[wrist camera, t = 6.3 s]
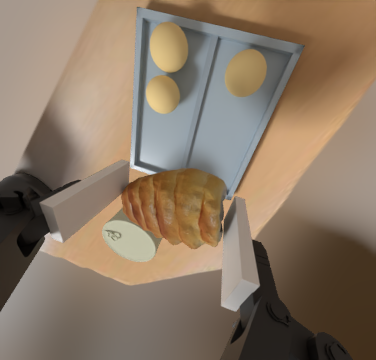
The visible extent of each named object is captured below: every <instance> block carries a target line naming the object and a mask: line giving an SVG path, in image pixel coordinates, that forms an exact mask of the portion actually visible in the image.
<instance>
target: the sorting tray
mask: <svg viewBox="0 0 376 360" xmlns="http://www.w3.org/2000/svg"><path fill="white" fill-rule="evenodd" d="M162 22H172V23H175V24H176V25H178V26H179V27H180V28H181V29H182V31H183V32H184V34H185V36H186V39H187V42H188V56H187V60H186V62H185V64H184V66H183V67H182V68H181V69H180V70H178V71H177V72H173V73H168V72H165V71H163V70H161V69H160V68H159V67H158V66H157V65H156V64H155V62H154V61H153V58H152V56H151V52H150V38H151V35H152V32H153V30H154V29H155V28H156V26H158V25H159V24H160V23H162ZM304 46H305V45H300V44H296V43H292V42H287V41H283V40H279V39H274V38H270V37H266V36H261V35H257V34H253V33H248V32H244V31H240V30H236V29H231V28H227V27H223V26H218V25H214V24H210V23H205V22H201V21H197V20H192V19H188V18H184V17H179V16H175V15H171V14H166V13H162V12H158V11H154V10H149V9H145V8H141V7H137V19H136V42H135V65H134V88H133V111H132V135H131V158H130V168H132V169H135V170H139V171H142V172H145V173H148V174H151V175H152V174H155V173H159V172H163V171H170V170H177V169H181V168H195V169H199V170H202V171H204V172H207V173H210V174H213V175H215V176H217V177H219V178H220V179H222V180H223V181H224V182H225V184H226V186H227V195H226V197H225V199H228V200H231V198H232V196H233V194H234V192H235V190H236V188H237V186H238V184H239V182H240V180H241V178H242V175H243V173H244V171H245V169H246V167H247V165H248V163H249V161H250V159H251V157H252V155H253V153H254V150H255V148H256V146H257V144H258V142H259V140H260V138H261V136H262V134H263V132H264V130H265V128H266V125H267V123H268V121H269V119H270V117H271V115H272V113H273V111H274V109H275V107H276V105H277V103H278V100H279V98H280V96H281V94H282V92H283V90H284V88H285V86H286V84H287V82H288V80H289V78H290V75H291V73H292V71H293V69H294V67H295V65H296V63H297V61H298V59H299V57H300V55H301V53H302V50H303V48H304ZM246 49H254V50H257V51H259V52H260V53H261V54H262V55H263V56H264V58H265V60H266V65H267V71H266V76H265V79H264V81H263V83H262V85H261V86H260V88H259V89H258V90H257V91H256V92H254V93H253V94H251V95H249V96H247V97H236V96H234V95H232V94H231V93H230V92H229V91H228V89H227V87H226V85H225V72H226V68H227V66H228V64H229V62H230V61H231V59H232V58H233V57H234V56H235V55H236V54H237V53H239V52H241V51H243V50H246ZM158 75H165V76H168V77H170V78H171V79H173V80H174V81H175V83H176V84H177V86H178V88H179V92H180V100H179V104H178V106H177V107H176V109H175V110H174V111H172V112H170V113H167V114H161V113H158V112H156V111H155V110H153V109H152V108H151V107H150V105H149V103H148V101H147V98H146V88H147V85H148V83H149V81H150V80H151V79H152V78H154V77H155V76H158Z"/></svg>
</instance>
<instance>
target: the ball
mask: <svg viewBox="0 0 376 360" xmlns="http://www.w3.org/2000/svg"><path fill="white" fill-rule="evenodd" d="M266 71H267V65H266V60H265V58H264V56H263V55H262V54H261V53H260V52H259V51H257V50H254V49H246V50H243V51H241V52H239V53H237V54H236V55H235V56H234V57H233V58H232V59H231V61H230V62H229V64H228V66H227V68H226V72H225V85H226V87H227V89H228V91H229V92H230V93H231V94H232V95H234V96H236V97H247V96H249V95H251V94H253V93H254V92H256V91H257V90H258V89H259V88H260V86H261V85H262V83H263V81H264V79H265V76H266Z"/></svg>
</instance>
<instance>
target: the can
mask: <svg viewBox="0 0 376 360" xmlns="http://www.w3.org/2000/svg"><path fill="white" fill-rule="evenodd" d="M102 234H103V238H104V240H105V242H106V243H107V245H108V246H109V247H110V248H111V249H112V250H113V251H114V252H115V253H117V254H118V255H120V256H121V257H123V258H126V259H128V260H131V261H135V262H146V261H149V260H151V259H152V258H153V257H154V256H155V254H156V251H157V249H158V246H159V244H160V242H161V240H162V238H156V237H155V236H154V234H153V233H152V232H151V231H144V230H143V229H142V227H141V226H139V225H137V224H135V223H133V222H132V221H131V220H130V219H129V218H128V217H127V216H126V215H125V214H124V213H123V209H121V210H120V211H119V212H118V213H117V214H116V215H115V216H114V217H113V218H112V219H110V220H109V221H108V222H107V223H106V224H105V225H104V227H103V230H102Z"/></svg>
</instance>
